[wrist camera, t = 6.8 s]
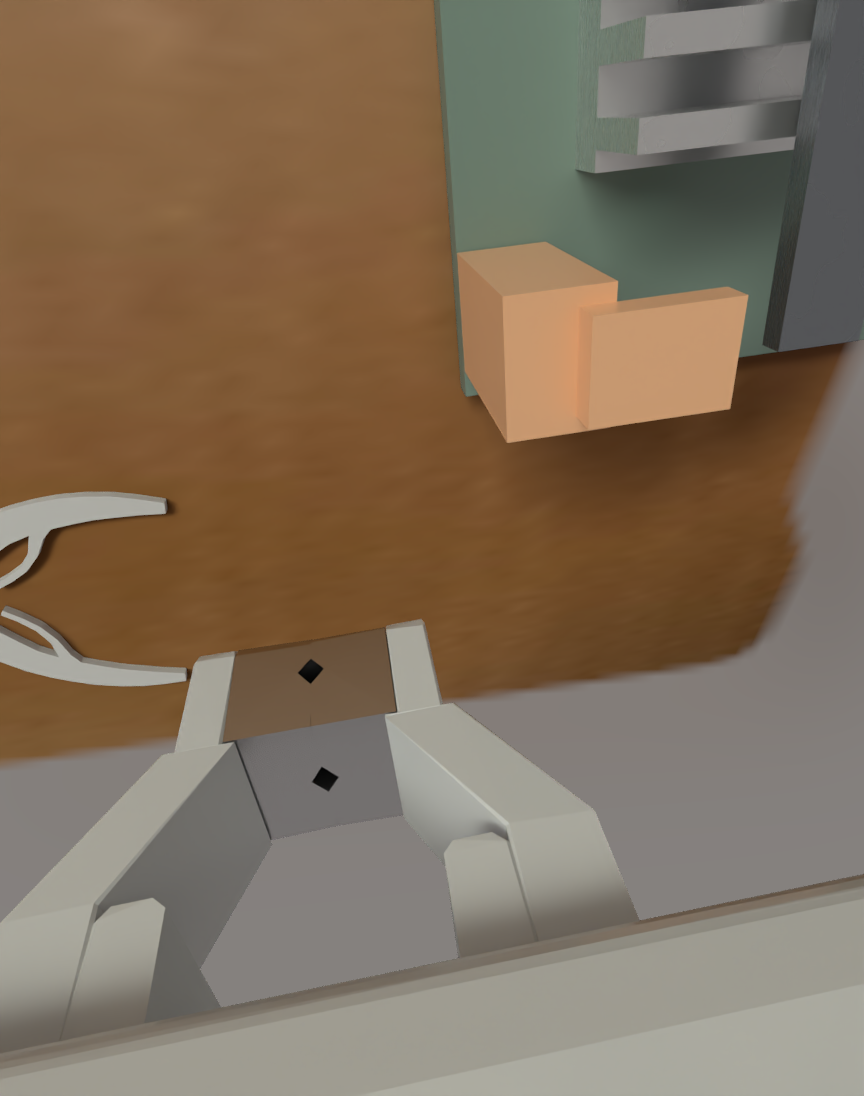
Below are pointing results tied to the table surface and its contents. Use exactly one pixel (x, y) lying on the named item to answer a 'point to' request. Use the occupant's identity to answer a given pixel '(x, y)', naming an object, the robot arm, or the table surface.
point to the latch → (589, 344)
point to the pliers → (29, 656)
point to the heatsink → (688, 80)
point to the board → (582, 197)
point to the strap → (824, 194)
